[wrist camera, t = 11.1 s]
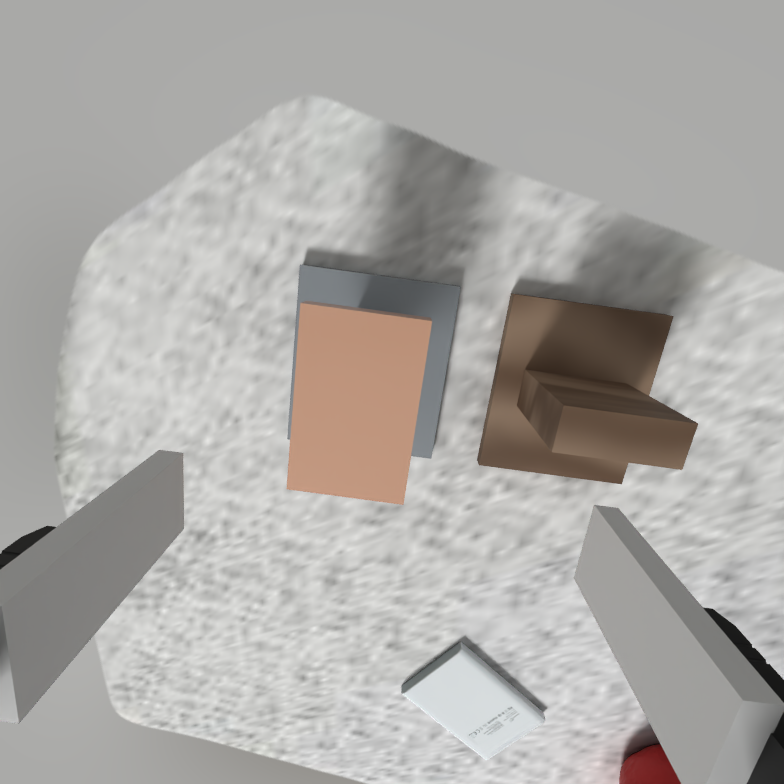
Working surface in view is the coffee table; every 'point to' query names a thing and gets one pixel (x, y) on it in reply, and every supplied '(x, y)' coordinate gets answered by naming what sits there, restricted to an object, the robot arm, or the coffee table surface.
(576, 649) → the coffee table surface
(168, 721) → the coffee table surface
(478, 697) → the external hard drive
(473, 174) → the coffee table surface
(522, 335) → the walnut stand
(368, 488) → the terracotta tile
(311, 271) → the slate stand
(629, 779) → the pomegranate
